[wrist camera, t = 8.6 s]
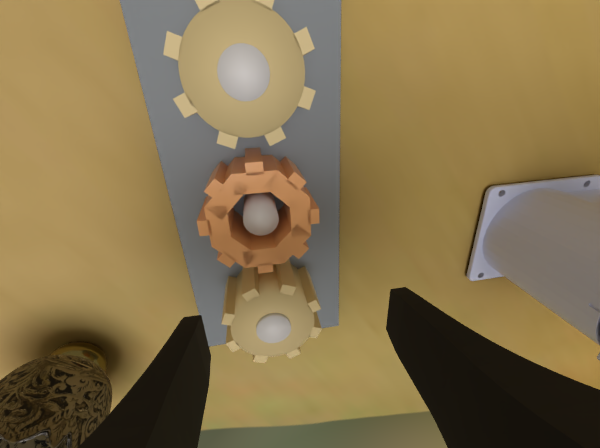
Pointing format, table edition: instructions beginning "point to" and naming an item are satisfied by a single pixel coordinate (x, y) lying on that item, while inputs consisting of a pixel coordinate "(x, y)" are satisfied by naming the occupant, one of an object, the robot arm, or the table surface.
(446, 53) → the table surface
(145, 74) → the gear board
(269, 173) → the loose gear
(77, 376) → the cup
